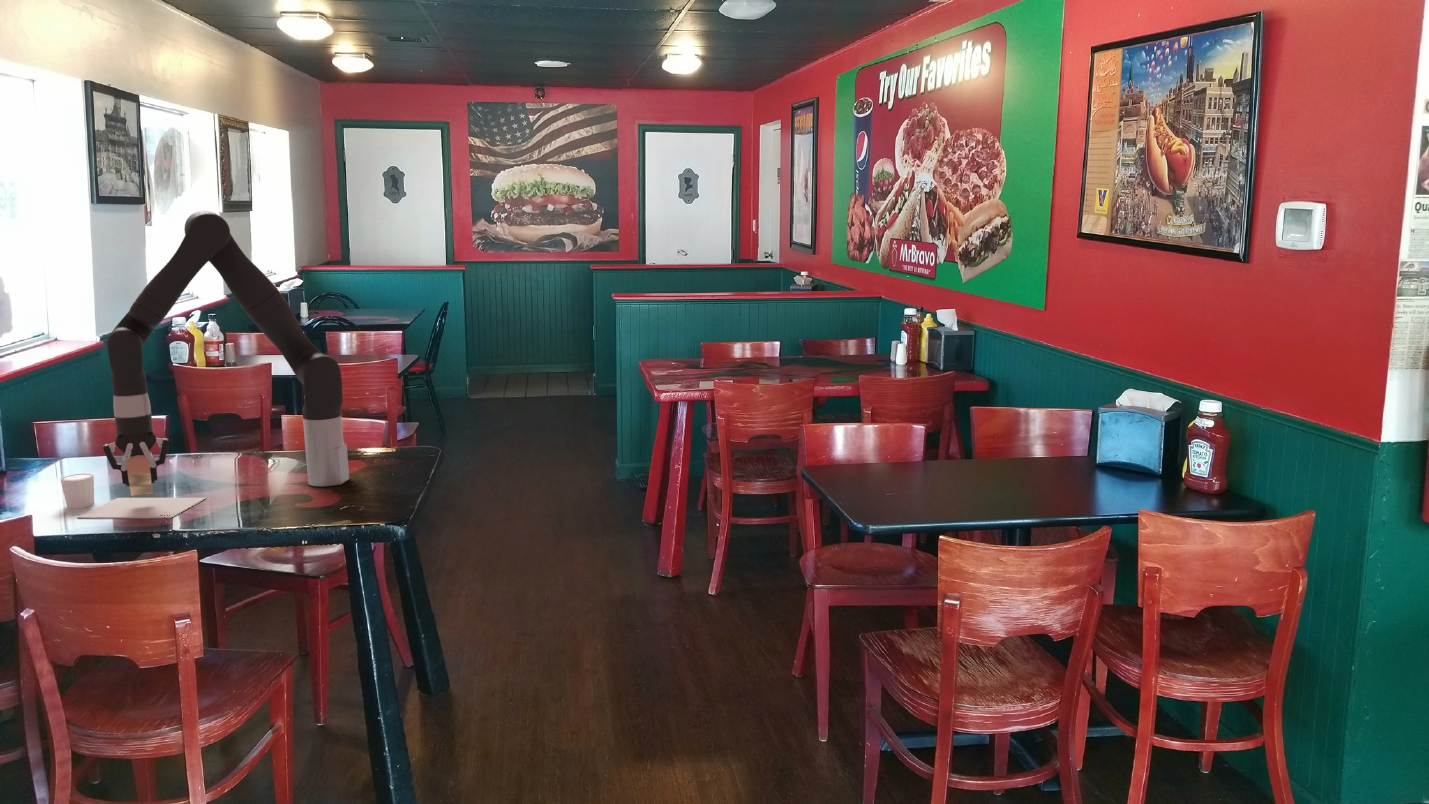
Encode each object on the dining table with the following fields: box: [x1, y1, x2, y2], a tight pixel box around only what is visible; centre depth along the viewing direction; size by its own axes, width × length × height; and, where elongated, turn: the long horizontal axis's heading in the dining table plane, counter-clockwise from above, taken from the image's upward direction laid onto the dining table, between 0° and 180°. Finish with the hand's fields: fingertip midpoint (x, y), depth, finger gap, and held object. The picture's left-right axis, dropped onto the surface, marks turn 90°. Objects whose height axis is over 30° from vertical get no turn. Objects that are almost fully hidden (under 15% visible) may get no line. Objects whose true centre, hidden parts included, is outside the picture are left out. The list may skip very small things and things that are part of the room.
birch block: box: [126, 455, 154, 497], centre depth 250 cm, size 5×5×10 cm
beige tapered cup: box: [59, 473, 95, 509], centre depth 253 cm, size 7×7×7 cm
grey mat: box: [76, 497, 207, 520], centre depth 250 cm, size 22×16×1 cm
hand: (140, 483), depth 249 cm, fingers closed on birch block, 4 cm apart
